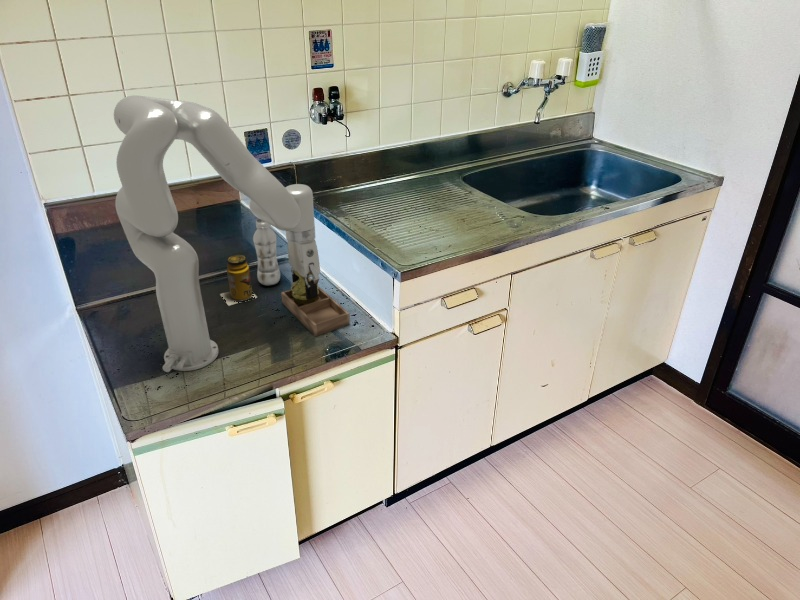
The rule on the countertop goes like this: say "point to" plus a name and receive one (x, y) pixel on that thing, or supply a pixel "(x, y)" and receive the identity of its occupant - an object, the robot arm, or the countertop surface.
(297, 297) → the brass weight
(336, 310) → the caddy
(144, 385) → the countertop surface
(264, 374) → the countertop surface
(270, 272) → the plastic bottle
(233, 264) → the condiment
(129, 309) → the countertop surface
